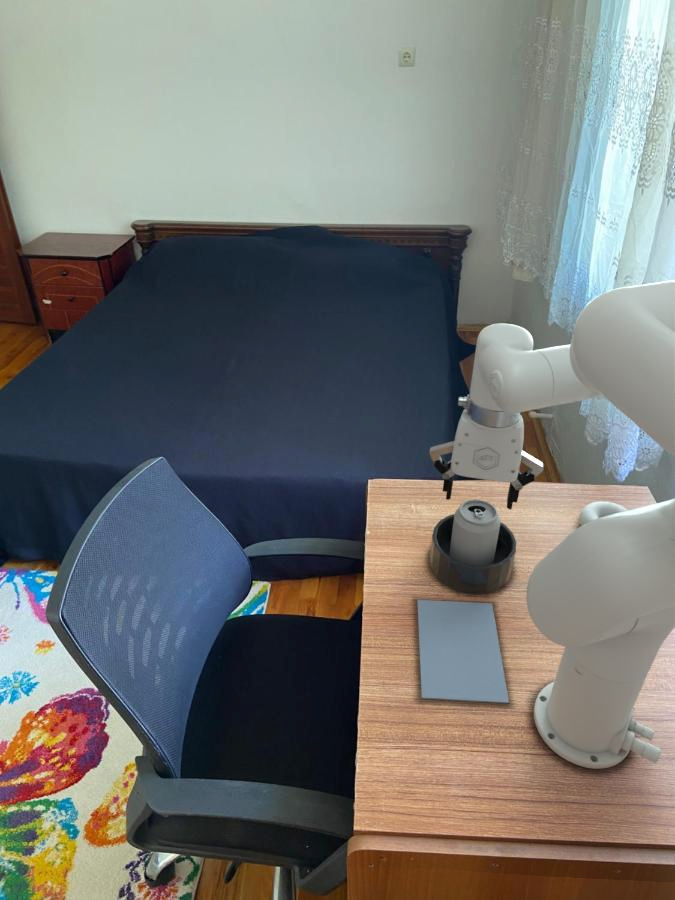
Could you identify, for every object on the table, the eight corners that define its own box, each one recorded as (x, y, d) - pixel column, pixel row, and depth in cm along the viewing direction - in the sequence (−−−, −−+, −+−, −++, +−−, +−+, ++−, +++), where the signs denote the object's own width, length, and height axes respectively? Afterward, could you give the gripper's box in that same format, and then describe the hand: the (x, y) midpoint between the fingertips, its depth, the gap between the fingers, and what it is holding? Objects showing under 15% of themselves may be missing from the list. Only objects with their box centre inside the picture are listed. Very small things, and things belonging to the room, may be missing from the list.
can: (487, 547, 114) (496, 494, 107) (496, 578, 108) (507, 524, 101) (445, 548, 114) (451, 495, 107) (452, 579, 108) (460, 525, 101)
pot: (522, 556, 113) (528, 531, 109) (491, 607, 103) (496, 580, 100) (451, 527, 119) (454, 502, 116) (415, 572, 110) (418, 546, 106)
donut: (641, 549, 114) (626, 512, 122) (646, 535, 112) (631, 498, 120) (583, 546, 115) (572, 509, 123) (588, 531, 113) (576, 495, 121)
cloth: (417, 600, 104) (417, 599, 104) (491, 604, 104) (492, 603, 103) (421, 698, 90) (421, 697, 89) (508, 703, 89) (509, 702, 89)
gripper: (431, 414, 92) (422, 505, 102) (556, 430, 89) (534, 523, 99) (437, 388, 98) (428, 477, 108) (554, 403, 95) (534, 493, 105)
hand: (478, 499), depth 103 cm, fingers open, 9 cm apart
